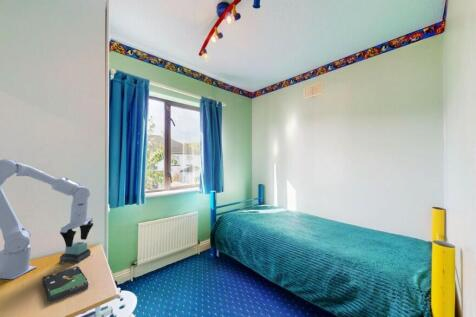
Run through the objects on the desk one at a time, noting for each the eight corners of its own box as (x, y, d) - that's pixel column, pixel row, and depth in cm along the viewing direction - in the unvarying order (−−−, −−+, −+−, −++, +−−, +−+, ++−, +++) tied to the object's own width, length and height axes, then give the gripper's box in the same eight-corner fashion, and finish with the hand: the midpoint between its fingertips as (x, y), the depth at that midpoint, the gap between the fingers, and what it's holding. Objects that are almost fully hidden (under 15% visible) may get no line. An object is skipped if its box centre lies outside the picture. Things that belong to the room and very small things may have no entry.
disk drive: (41, 284, 69) (48, 304, 60) (42, 276, 69) (49, 295, 60) (77, 272, 78) (89, 288, 68) (78, 265, 78) (89, 280, 68)
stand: (59, 261, 83) (60, 254, 83) (73, 253, 90) (74, 247, 90) (77, 262, 83) (77, 256, 83) (90, 254, 90) (90, 249, 90)
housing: (78, 254, 85) (79, 247, 85) (64, 253, 85) (64, 245, 85) (86, 250, 89) (87, 242, 89) (73, 249, 89) (73, 241, 89)
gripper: (73, 218, 80) (70, 250, 79) (99, 209, 94) (97, 237, 94) (57, 216, 80) (54, 249, 80) (85, 208, 94) (83, 236, 94)
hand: (76, 242), depth 87 cm, fingers open, 7 cm apart
